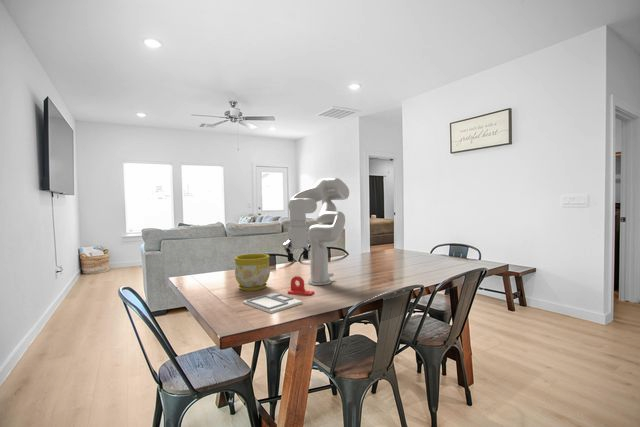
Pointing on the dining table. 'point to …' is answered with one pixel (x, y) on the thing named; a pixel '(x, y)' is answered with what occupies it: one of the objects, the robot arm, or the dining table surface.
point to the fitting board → (272, 302)
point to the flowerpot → (252, 271)
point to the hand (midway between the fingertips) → (298, 260)
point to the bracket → (299, 287)
